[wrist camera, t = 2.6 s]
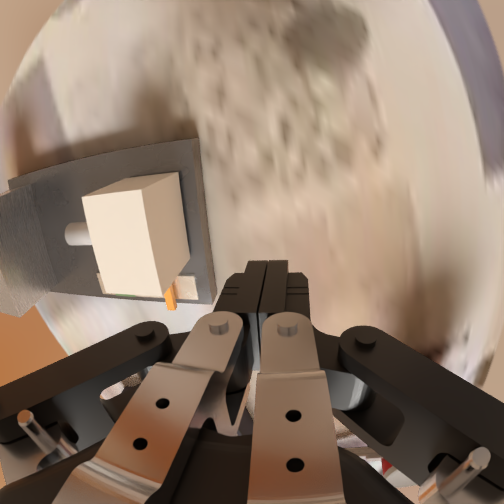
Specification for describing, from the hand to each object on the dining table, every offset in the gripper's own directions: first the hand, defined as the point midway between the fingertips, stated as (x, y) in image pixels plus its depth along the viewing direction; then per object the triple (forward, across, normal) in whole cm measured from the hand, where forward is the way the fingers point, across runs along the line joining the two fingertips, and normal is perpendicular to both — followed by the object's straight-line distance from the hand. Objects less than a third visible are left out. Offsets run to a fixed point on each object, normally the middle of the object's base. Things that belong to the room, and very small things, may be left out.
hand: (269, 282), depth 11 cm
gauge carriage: (+8, +10, +1) cm, 13 cm away
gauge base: (+9, +15, 0) cm, 18 cm away
